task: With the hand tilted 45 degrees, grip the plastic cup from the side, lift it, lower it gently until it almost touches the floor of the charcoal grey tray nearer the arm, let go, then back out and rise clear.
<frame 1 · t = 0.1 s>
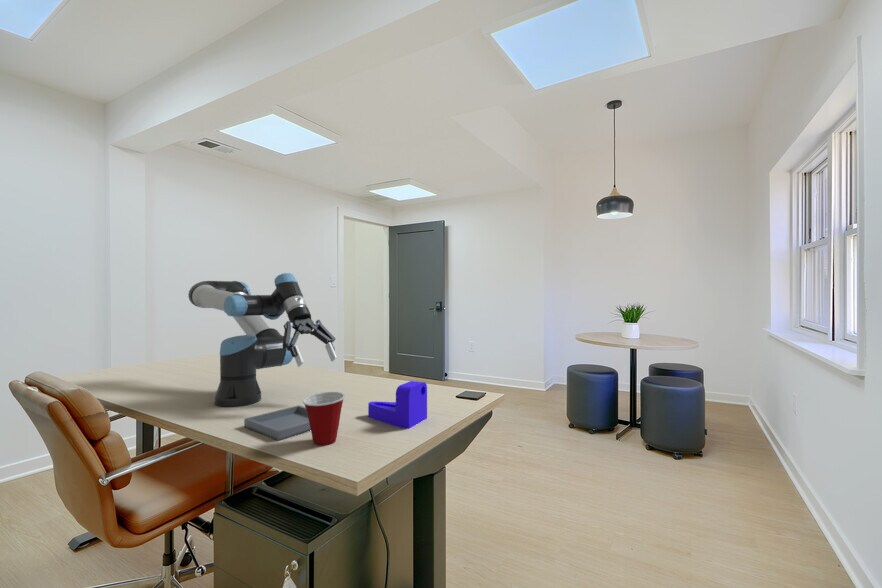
hand: (318, 362, 140), 15 cm above the table, tool tilted 35°, fingers open, 13 cm apart
plastic cup: (323, 442, 107), on the table
bracket: (393, 420, 127), on the table
tray: (289, 425, 121), on the table
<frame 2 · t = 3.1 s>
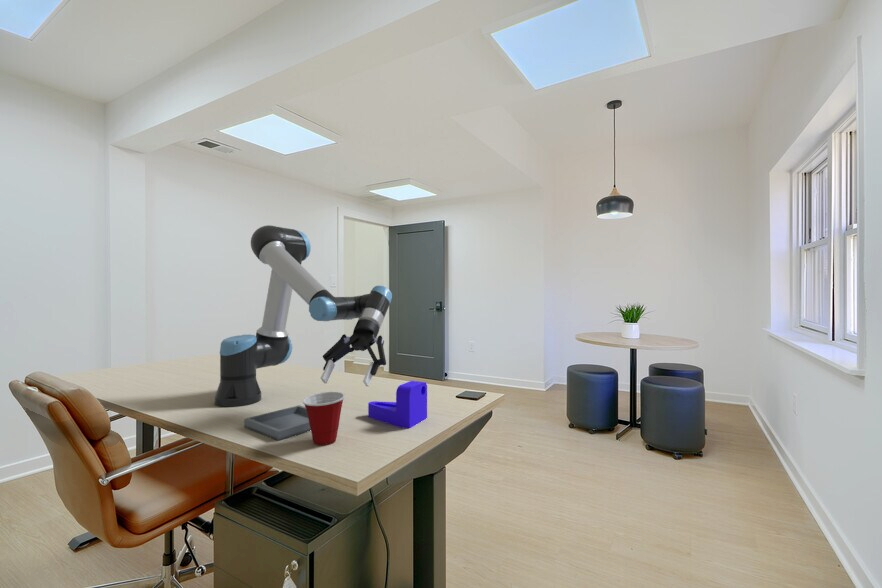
hand: (344, 382, 116), 14 cm above the table, tool tilted 45°, fingers open, 13 cm apart
nothing on the table moved.
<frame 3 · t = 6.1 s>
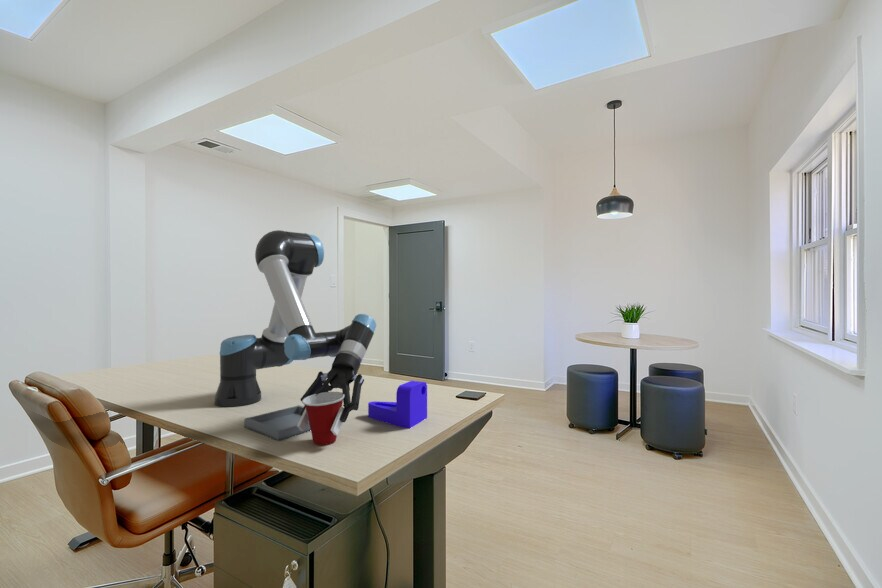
hand: (316, 430, 104), 4 cm above the table, tool tilted 45°, fingers closed on plastic cup, 9 cm apart
plastic cup: (323, 442, 107), on the table, touching gripper
everything else where it was.
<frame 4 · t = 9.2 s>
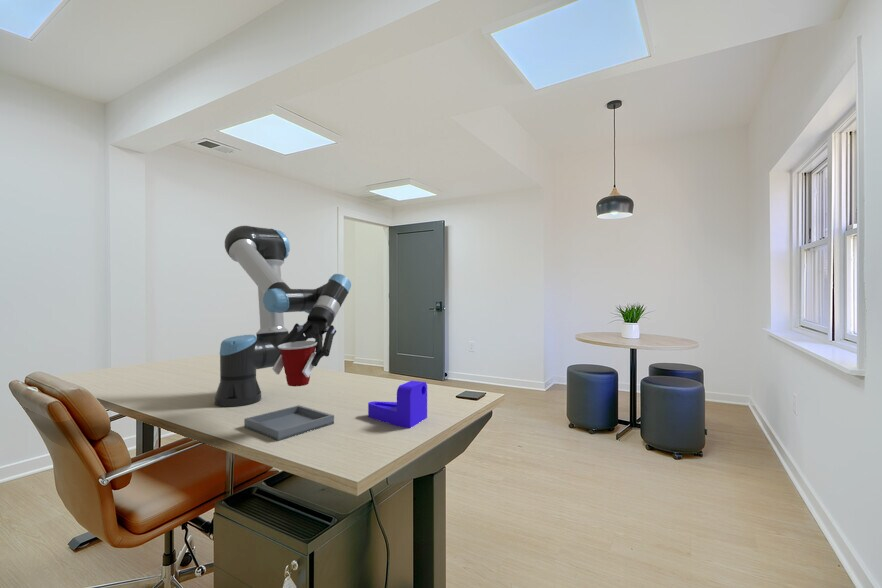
hand: (290, 373, 115), 17 cm above the table, tool tilted 45°, fingers closed on plastic cup, 9 cm apart
plastic cup: (297, 385, 118), point 13 cm above the table, touching gripper
everything else where it was.
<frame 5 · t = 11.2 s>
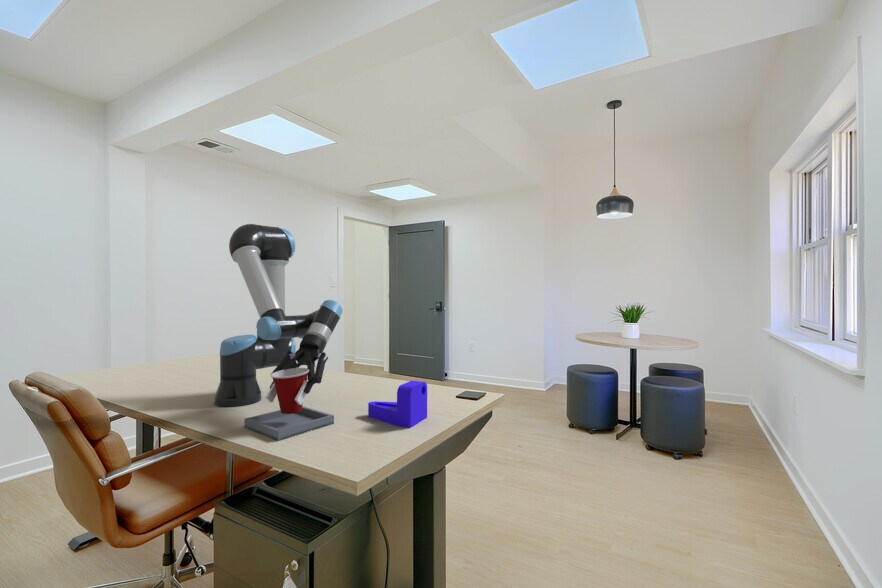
hand: (283, 401, 117), 8 cm above the table, tool tilted 45°, fingers closed on plastic cup, 9 cm apart
plastic cup: (290, 412, 120), point 4 cm above the table, touching gripper
everything else where it was.
when the fingers open (5 cm above the table, at t = 12.6 s): plastic cup stays where it is, resting on tray.
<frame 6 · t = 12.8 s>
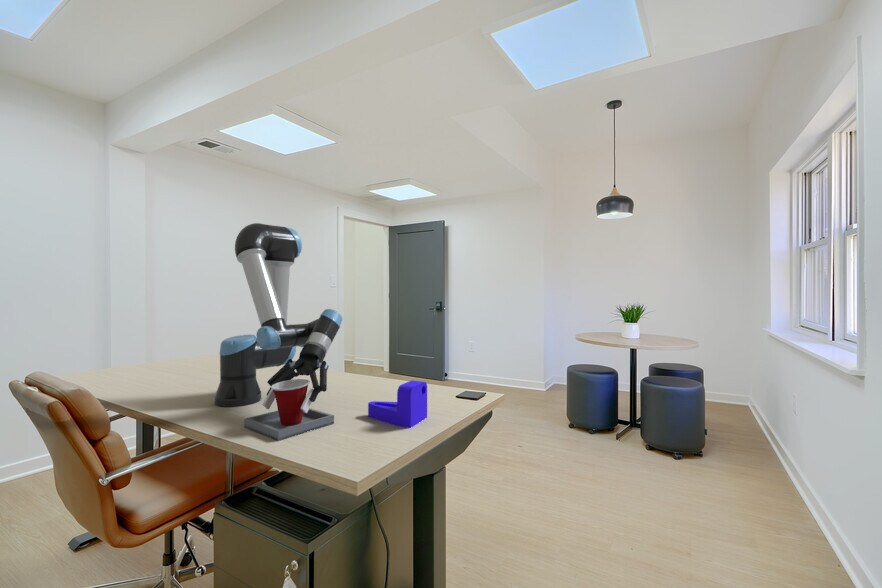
hand: (284, 408, 118), 6 cm above the table, tool tilted 45°, fingers open, 12 cm apart
plastic cup: (290, 423, 121), resting on tray
everything else where it was.
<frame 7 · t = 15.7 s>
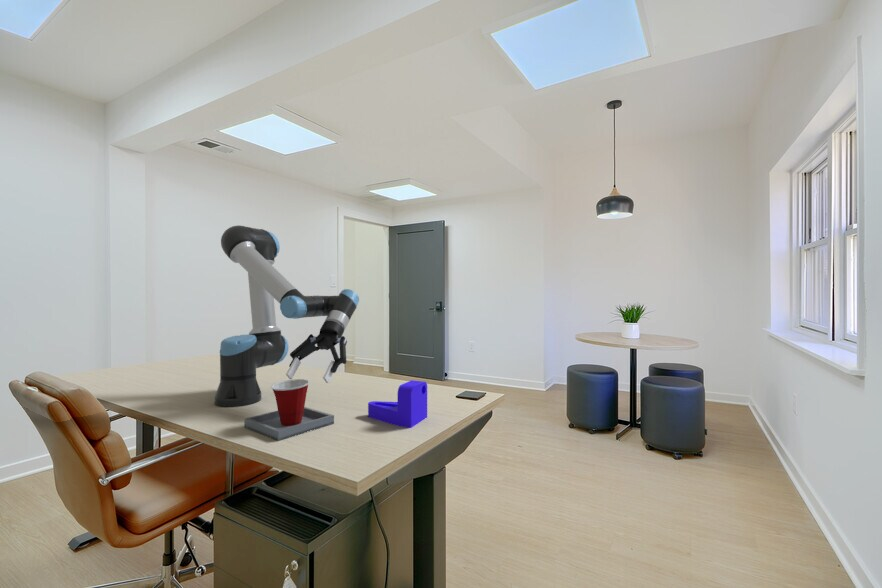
hand: (306, 378, 127), 12 cm above the table, tool tilted 45°, fingers open, 13 cm apart
nothing on the table moved.
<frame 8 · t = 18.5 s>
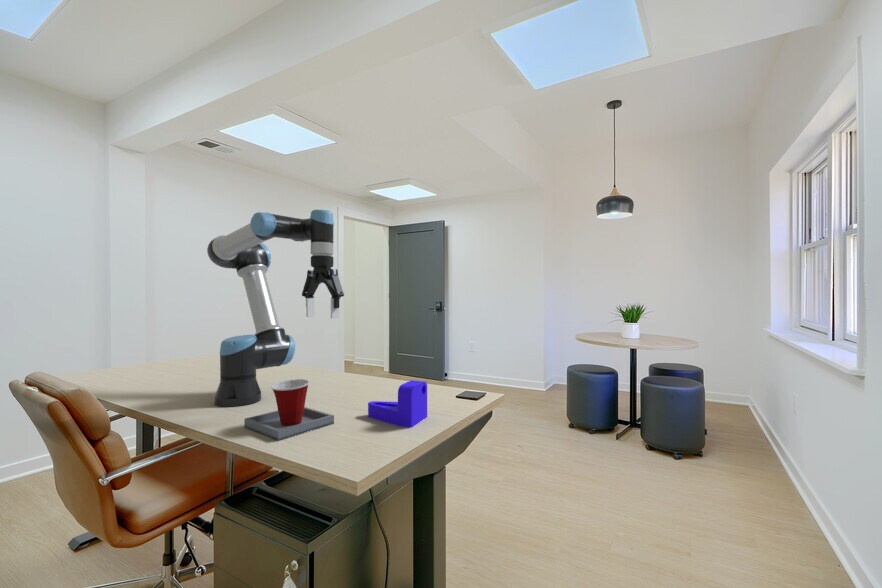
hand: (322, 317, 140), 31 cm above the table, tool pointing down, fingers open, 13 cm apart
nothing on the table moved.
at the end: plastic cup inside the target area on the tray (0.3 cm from its centre), point 0.4 cm above the tray's base; plastic cup tilted 0°; the gripper is holding nothing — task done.
